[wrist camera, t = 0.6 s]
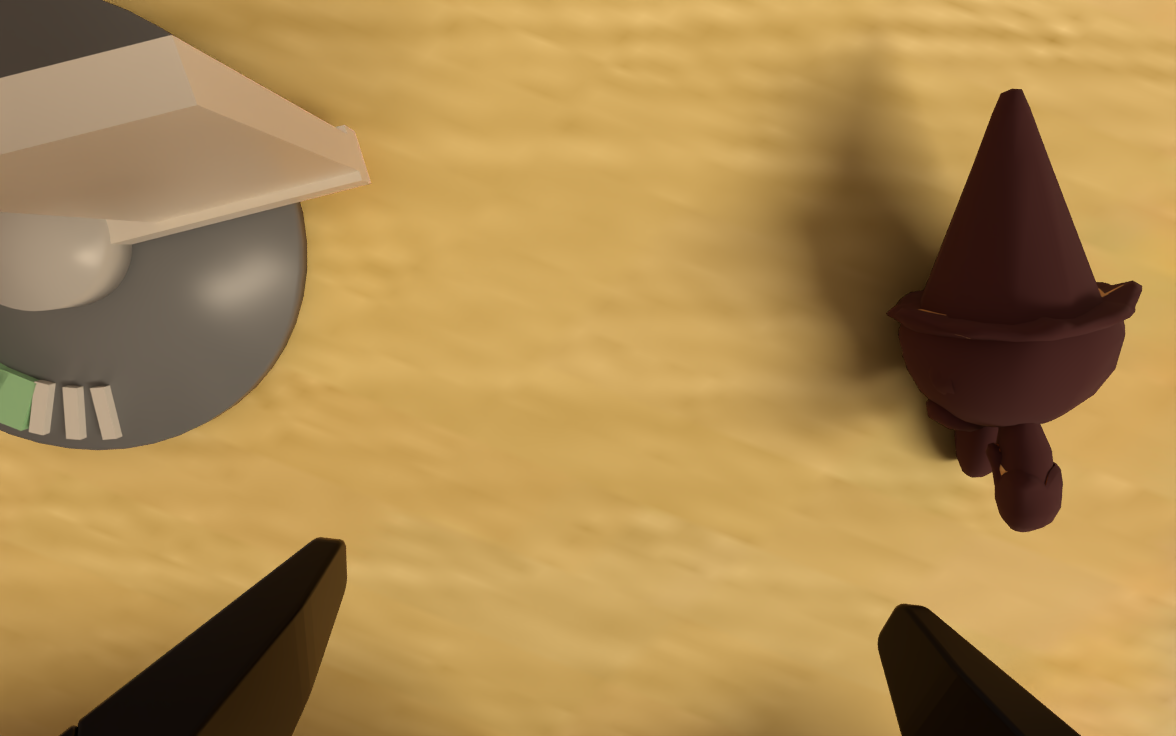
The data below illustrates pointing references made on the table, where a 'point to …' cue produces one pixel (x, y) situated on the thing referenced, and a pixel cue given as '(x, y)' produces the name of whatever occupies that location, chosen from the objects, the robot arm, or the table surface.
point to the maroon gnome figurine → (1012, 320)
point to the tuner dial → (145, 293)
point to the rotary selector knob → (144, 163)
